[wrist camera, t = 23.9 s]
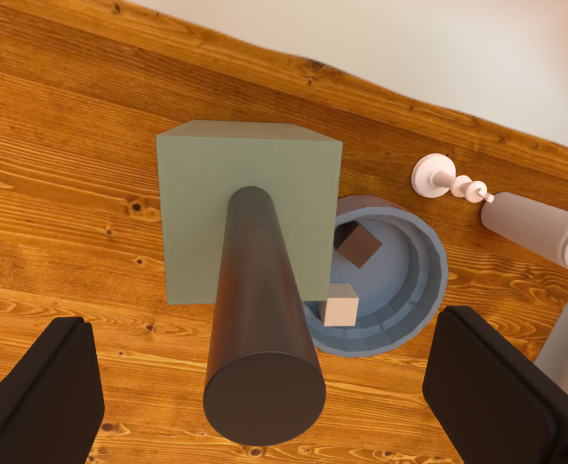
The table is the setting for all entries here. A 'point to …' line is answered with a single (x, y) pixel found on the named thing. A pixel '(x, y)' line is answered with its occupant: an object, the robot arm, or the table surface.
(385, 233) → the bowl
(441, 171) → the chess piece
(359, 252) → the walnut block
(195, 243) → the stand
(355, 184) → the table surface
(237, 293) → the stirring stick
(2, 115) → the table surface
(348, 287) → the cream block
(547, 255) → the beverage can
